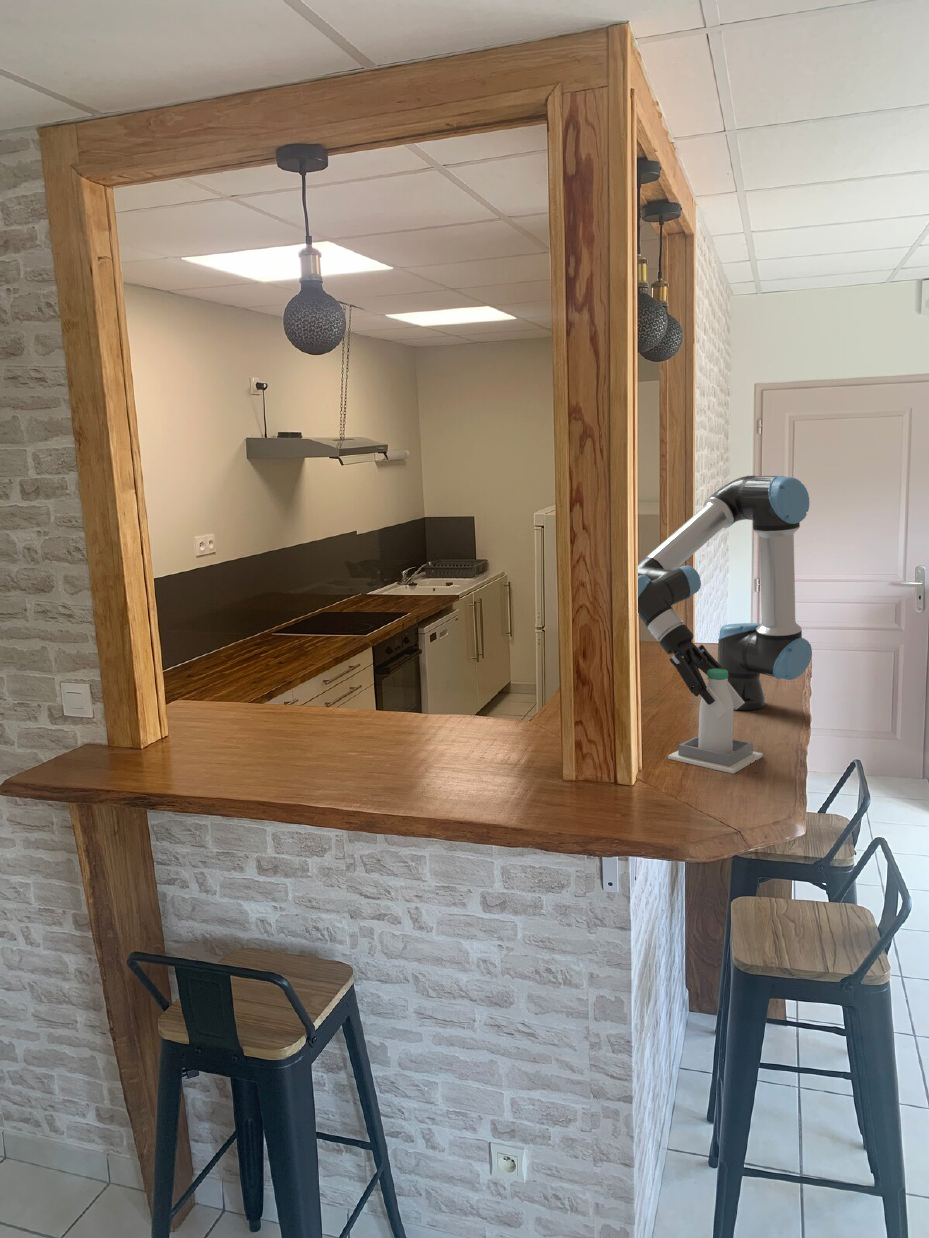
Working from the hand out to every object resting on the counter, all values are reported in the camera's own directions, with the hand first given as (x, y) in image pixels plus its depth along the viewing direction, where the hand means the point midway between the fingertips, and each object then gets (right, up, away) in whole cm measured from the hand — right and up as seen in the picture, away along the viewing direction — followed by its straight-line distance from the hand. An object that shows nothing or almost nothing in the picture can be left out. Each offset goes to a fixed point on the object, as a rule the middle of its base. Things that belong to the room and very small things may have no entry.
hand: (731, 710), depth 212 cm
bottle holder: (-3, -11, +4) cm, 12 cm away
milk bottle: (-3, -11, +4) cm, 12 cm away
